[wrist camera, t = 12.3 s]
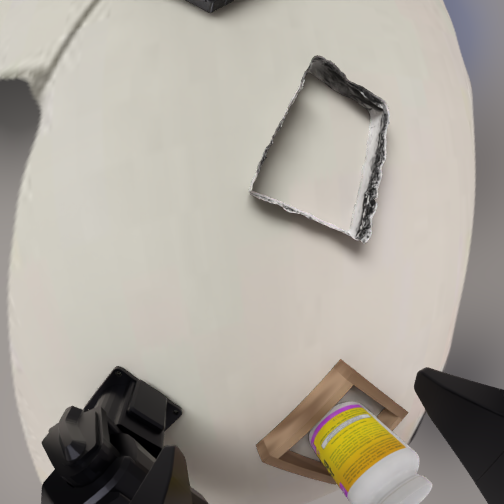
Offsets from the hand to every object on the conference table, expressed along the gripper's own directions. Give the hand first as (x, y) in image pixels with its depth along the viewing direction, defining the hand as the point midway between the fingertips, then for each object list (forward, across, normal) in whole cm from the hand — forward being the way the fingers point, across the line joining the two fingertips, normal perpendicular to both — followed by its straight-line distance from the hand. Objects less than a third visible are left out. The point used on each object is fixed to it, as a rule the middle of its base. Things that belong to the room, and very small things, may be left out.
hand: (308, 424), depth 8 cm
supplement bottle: (+11, -6, +16) cm, 21 cm away
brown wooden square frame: (+11, -5, +16) cm, 20 cm away
